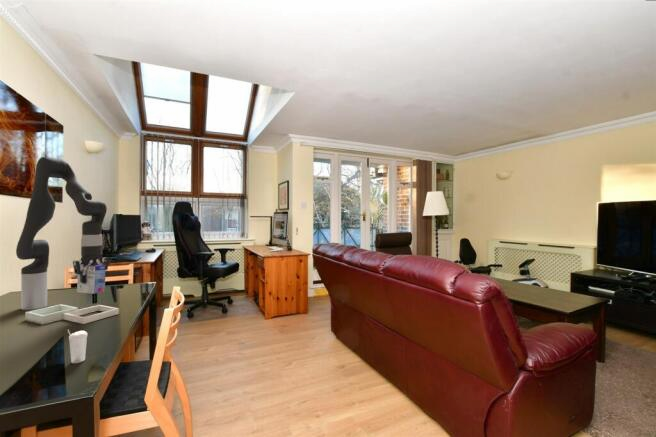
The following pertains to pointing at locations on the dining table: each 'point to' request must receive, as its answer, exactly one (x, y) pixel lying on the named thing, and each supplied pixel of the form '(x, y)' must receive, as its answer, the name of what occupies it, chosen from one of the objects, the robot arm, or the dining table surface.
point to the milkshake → (78, 346)
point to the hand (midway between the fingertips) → (91, 281)
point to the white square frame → (77, 318)
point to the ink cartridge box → (92, 280)
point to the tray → (48, 314)
